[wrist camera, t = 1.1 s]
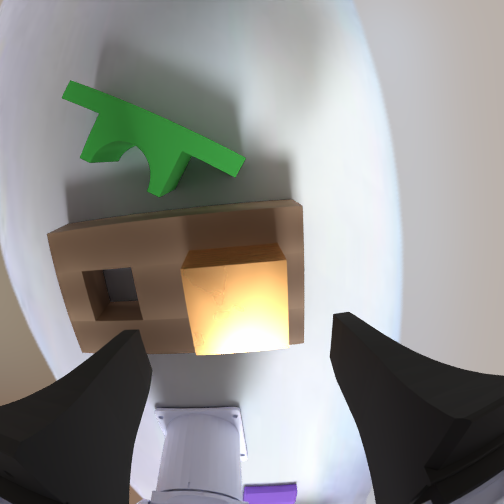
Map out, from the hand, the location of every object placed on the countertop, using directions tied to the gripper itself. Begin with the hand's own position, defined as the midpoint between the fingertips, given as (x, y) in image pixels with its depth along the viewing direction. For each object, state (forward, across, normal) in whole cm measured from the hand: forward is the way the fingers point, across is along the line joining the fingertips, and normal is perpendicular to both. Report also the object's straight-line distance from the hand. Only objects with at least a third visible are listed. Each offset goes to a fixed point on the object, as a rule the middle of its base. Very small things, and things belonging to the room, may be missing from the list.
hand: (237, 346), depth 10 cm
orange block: (+10, 0, +1) cm, 10 cm away
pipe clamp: (+11, +5, -8) cm, 14 cm away
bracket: (+9, 0, +38) cm, 39 cm away
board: (+10, +4, +1) cm, 11 cm away
